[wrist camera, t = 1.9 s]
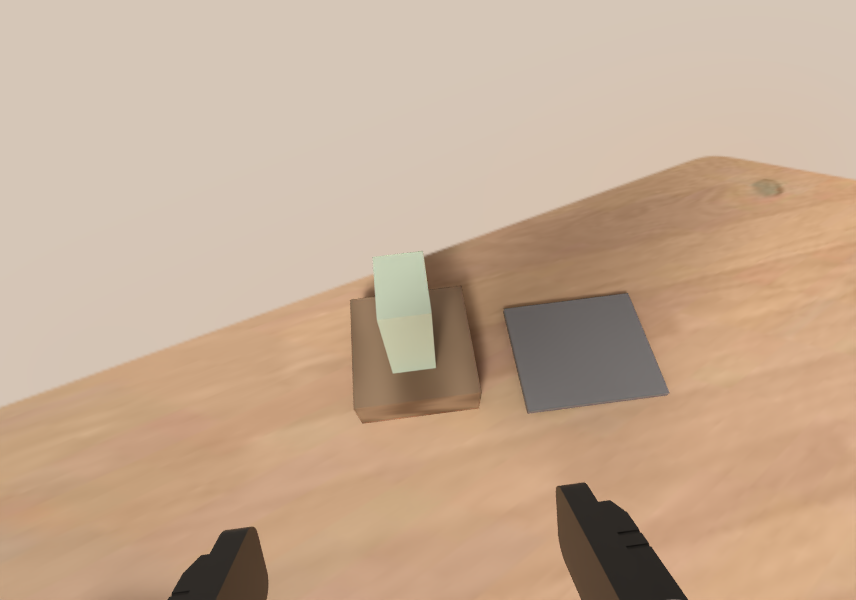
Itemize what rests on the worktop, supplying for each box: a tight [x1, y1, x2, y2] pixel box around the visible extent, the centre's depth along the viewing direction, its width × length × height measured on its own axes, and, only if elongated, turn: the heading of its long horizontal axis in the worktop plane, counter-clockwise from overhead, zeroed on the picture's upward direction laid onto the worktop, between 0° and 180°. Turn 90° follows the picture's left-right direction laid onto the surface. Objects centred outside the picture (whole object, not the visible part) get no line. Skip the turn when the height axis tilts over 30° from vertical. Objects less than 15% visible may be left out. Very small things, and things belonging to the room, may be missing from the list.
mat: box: [503, 293, 669, 414], centre depth 40 cm, size 12×10×1 cm
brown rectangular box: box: [350, 286, 481, 423], centre depth 39 cm, size 10×10×4 cm
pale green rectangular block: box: [373, 251, 436, 373], centre depth 33 cm, size 4×5×9 cm
